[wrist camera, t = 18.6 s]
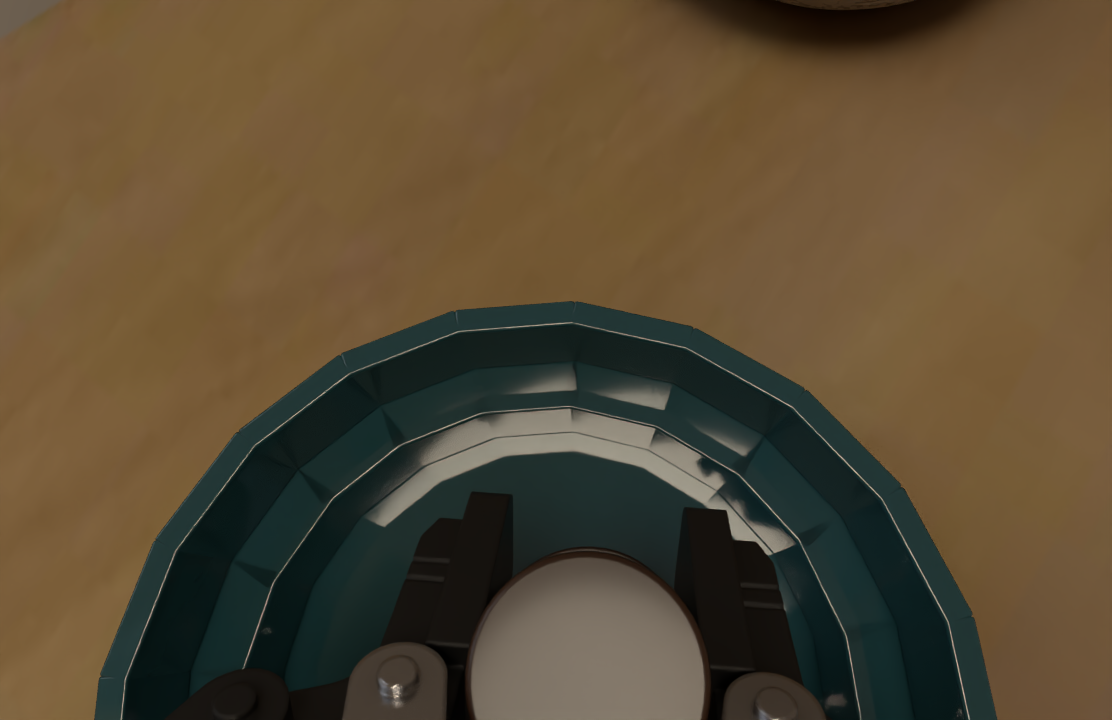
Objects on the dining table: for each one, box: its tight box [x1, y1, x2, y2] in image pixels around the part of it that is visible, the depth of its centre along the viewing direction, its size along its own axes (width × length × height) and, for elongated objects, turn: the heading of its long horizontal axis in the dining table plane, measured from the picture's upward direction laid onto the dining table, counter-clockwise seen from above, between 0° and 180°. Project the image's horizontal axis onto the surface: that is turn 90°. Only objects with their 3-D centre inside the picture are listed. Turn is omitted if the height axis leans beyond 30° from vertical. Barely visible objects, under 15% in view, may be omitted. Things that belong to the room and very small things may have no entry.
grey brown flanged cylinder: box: [465, 546, 711, 720], centre depth 15 cm, size 5×5×11 cm
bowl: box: [94, 301, 997, 720], centre depth 18 cm, size 17×17×6 cm
